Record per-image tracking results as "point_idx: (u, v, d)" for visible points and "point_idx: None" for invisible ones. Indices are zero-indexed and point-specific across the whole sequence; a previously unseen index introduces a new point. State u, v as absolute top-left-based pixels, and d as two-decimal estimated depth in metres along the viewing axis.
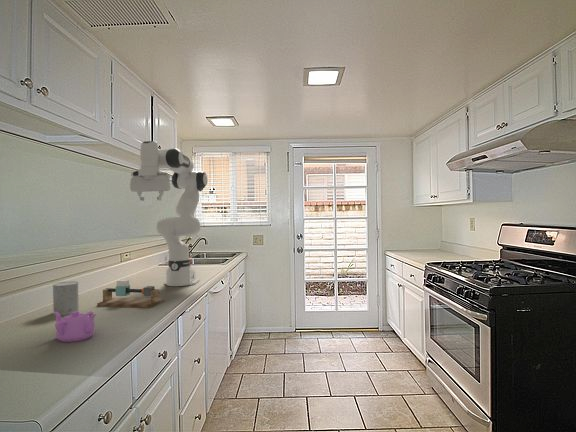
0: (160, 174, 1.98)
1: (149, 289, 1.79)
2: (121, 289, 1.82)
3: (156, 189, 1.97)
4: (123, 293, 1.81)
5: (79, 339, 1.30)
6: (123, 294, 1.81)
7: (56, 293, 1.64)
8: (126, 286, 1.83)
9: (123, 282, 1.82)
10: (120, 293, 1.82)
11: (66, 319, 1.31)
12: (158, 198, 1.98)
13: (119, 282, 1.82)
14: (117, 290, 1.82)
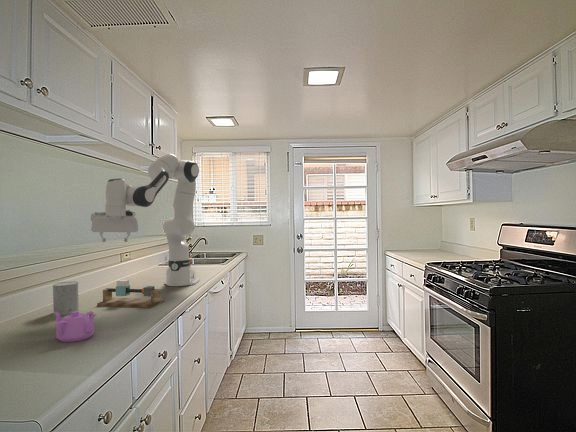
0: None
1: (149, 289, 1.79)
2: (121, 289, 1.82)
3: None
4: (123, 293, 1.81)
5: (79, 339, 1.30)
6: (123, 294, 1.81)
7: (56, 293, 1.64)
8: (126, 286, 1.83)
9: (123, 282, 1.82)
10: (120, 293, 1.82)
11: (66, 319, 1.31)
12: None
13: (119, 282, 1.82)
14: (117, 290, 1.82)
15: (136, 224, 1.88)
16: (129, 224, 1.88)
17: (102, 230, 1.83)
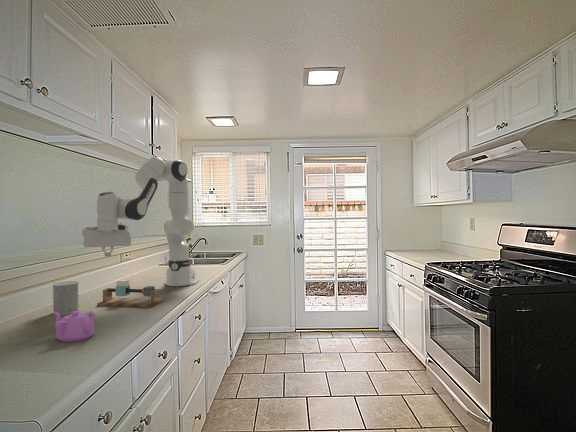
0: None
1: (149, 289, 1.79)
2: (121, 289, 1.82)
3: None
4: (123, 293, 1.81)
5: (79, 339, 1.30)
6: (123, 294, 1.81)
7: (56, 293, 1.64)
8: (126, 286, 1.83)
9: (123, 282, 1.82)
10: (120, 293, 1.82)
11: (66, 319, 1.31)
12: None
13: (119, 282, 1.82)
14: (117, 290, 1.82)
15: (129, 238, 1.87)
16: (122, 238, 1.86)
17: (94, 245, 1.81)
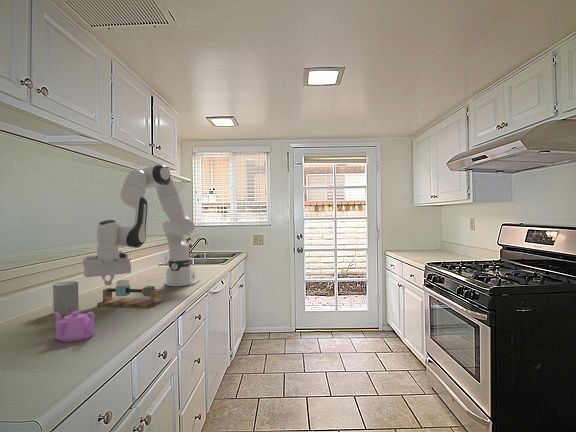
0: None
1: (149, 289, 1.79)
2: (121, 289, 1.82)
3: None
4: (123, 293, 1.81)
5: (79, 339, 1.30)
6: (123, 294, 1.81)
7: (56, 293, 1.64)
8: (126, 286, 1.83)
9: (123, 282, 1.82)
10: (120, 293, 1.82)
11: (66, 319, 1.31)
12: None
13: (119, 282, 1.82)
14: (117, 290, 1.82)
15: (129, 265, 1.89)
16: (122, 266, 1.87)
17: (96, 274, 1.80)
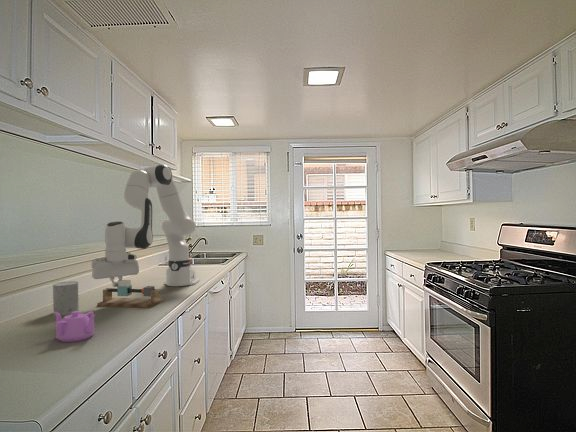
0: None
1: (149, 289, 1.79)
2: (123, 289, 1.81)
3: None
4: (125, 293, 1.81)
5: (79, 339, 1.30)
6: (125, 294, 1.81)
7: (56, 293, 1.64)
8: (128, 286, 1.83)
9: (125, 282, 1.82)
10: (122, 293, 1.81)
11: (66, 319, 1.31)
12: None
13: (121, 282, 1.82)
14: (119, 290, 1.82)
15: (137, 266, 1.89)
16: (131, 267, 1.87)
17: (105, 276, 1.79)
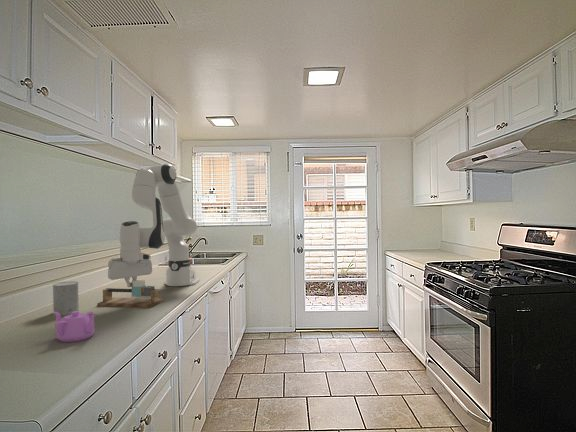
0: None
1: (149, 289, 1.79)
2: (137, 289, 1.80)
3: None
4: (139, 293, 1.80)
5: (79, 339, 1.30)
6: (139, 294, 1.80)
7: (56, 293, 1.64)
8: (142, 286, 1.81)
9: (139, 282, 1.81)
10: (136, 293, 1.80)
11: (66, 319, 1.31)
12: None
13: (135, 282, 1.81)
14: (133, 290, 1.80)
15: (151, 266, 1.89)
16: (145, 267, 1.87)
17: (121, 276, 1.78)
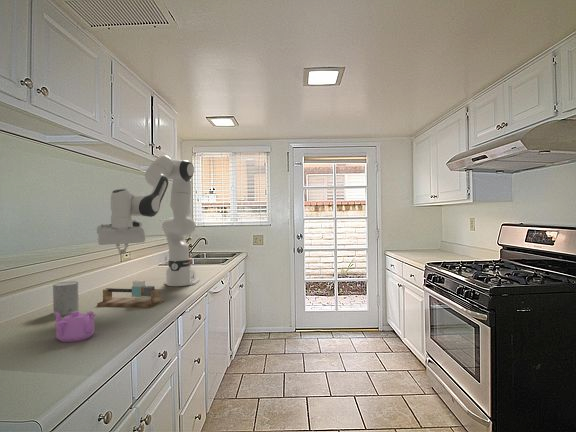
0: None
1: (149, 289, 1.79)
2: (137, 289, 1.80)
3: None
4: (139, 293, 1.80)
5: (79, 339, 1.30)
6: (139, 294, 1.80)
7: (56, 293, 1.64)
8: (142, 286, 1.81)
9: (139, 282, 1.81)
10: (136, 293, 1.80)
11: (66, 319, 1.31)
12: None
13: (135, 282, 1.81)
14: (133, 290, 1.80)
15: (143, 234, 1.87)
16: (136, 235, 1.86)
17: (109, 242, 1.80)
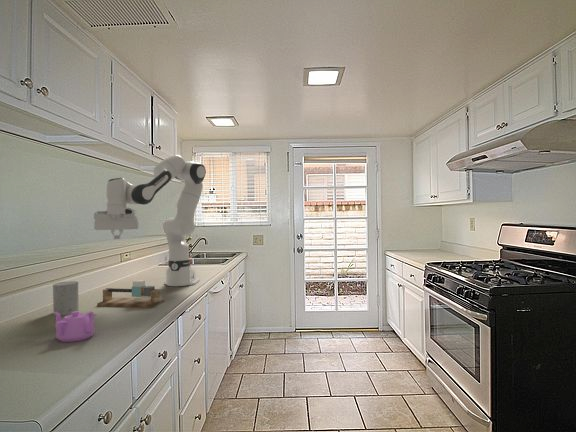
0: None
1: (149, 289, 1.79)
2: (137, 289, 1.80)
3: None
4: (139, 293, 1.80)
5: (79, 339, 1.30)
6: (139, 294, 1.80)
7: (56, 293, 1.64)
8: (142, 286, 1.81)
9: (139, 282, 1.81)
10: (136, 293, 1.80)
11: (66, 319, 1.31)
12: None
13: (135, 282, 1.81)
14: (133, 290, 1.80)
15: (136, 221, 1.95)
16: (129, 222, 1.94)
17: (104, 228, 1.92)
